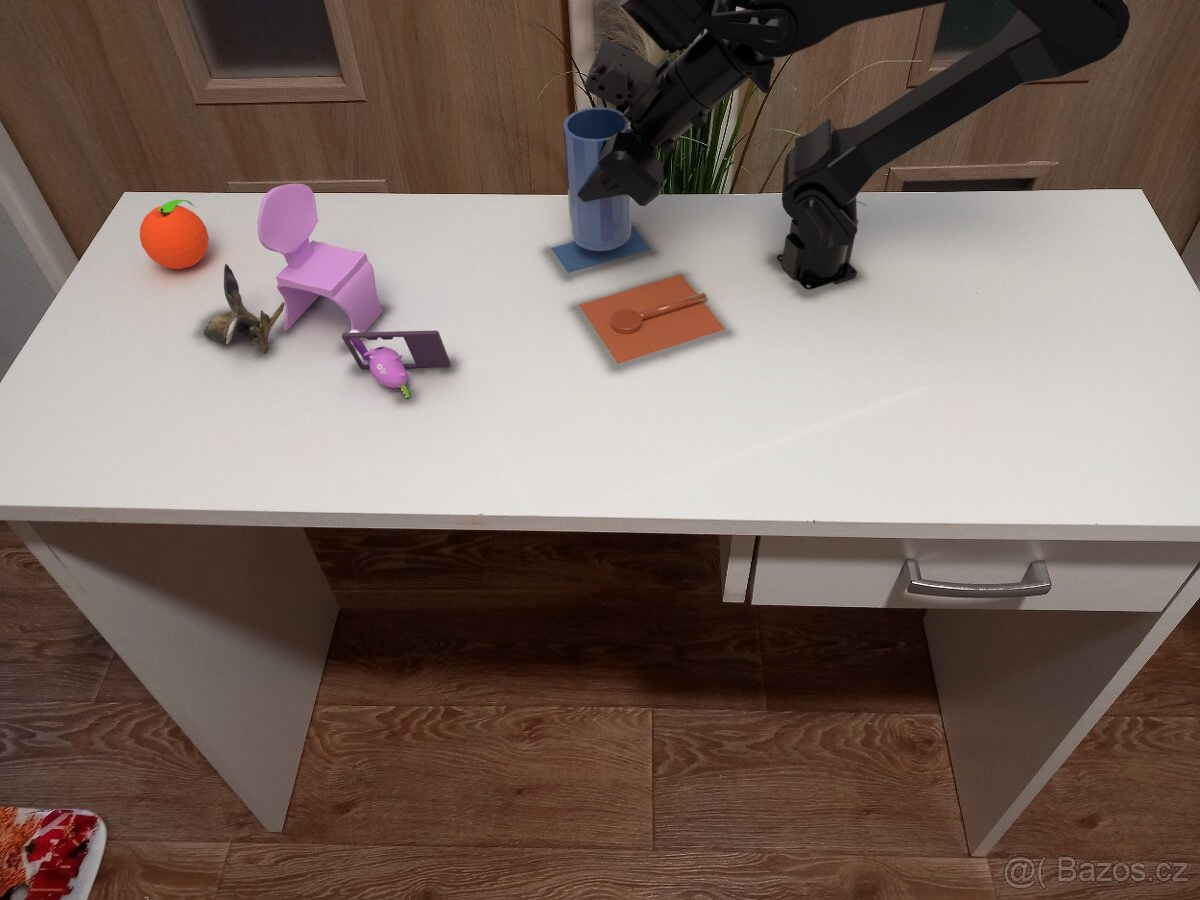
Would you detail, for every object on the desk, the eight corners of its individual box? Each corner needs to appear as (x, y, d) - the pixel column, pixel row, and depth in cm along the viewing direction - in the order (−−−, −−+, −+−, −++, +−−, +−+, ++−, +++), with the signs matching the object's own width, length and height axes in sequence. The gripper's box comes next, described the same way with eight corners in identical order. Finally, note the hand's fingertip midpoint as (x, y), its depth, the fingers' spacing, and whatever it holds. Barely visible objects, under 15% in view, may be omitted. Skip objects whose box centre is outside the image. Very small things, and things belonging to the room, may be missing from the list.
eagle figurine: (306, 314, 94) (246, 272, 96) (267, 293, 87) (203, 248, 89) (266, 375, 94) (207, 331, 96) (223, 359, 87) (160, 312, 89)
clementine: (182, 235, 106) (158, 182, 101) (234, 243, 105) (212, 190, 99) (141, 276, 101) (114, 222, 96) (195, 285, 100) (171, 231, 94)
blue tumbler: (642, 226, 100) (642, 117, 91) (610, 258, 97) (606, 147, 87) (592, 209, 103) (587, 101, 93) (559, 239, 99) (550, 130, 89)
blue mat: (631, 229, 104) (631, 225, 104) (650, 252, 101) (650, 248, 101) (551, 251, 102) (551, 247, 102) (568, 276, 99) (567, 272, 99)
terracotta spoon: (699, 290, 96) (699, 283, 95) (713, 308, 94) (713, 301, 93) (605, 319, 93) (605, 312, 93) (618, 337, 91) (618, 331, 91)
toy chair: (350, 356, 91) (310, 231, 80) (277, 336, 94) (229, 212, 82) (392, 306, 96) (360, 182, 85) (322, 288, 99) (282, 165, 87)
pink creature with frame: (438, 323, 84) (342, 325, 84) (435, 373, 82) (337, 375, 82) (451, 357, 90) (361, 359, 90) (448, 404, 88) (357, 406, 88)
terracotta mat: (680, 277, 98) (680, 274, 98) (724, 332, 92) (725, 329, 92) (579, 308, 95) (578, 304, 95) (617, 367, 89) (617, 363, 89)
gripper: (649, -22, 88) (547, 82, 98) (620, 67, 76) (507, 176, 85) (724, 61, 93) (620, 152, 102) (709, 157, 80) (592, 251, 90)
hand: (586, 179), depth 95 cm, fingers closed on blue tumbler, 6 cm apart
